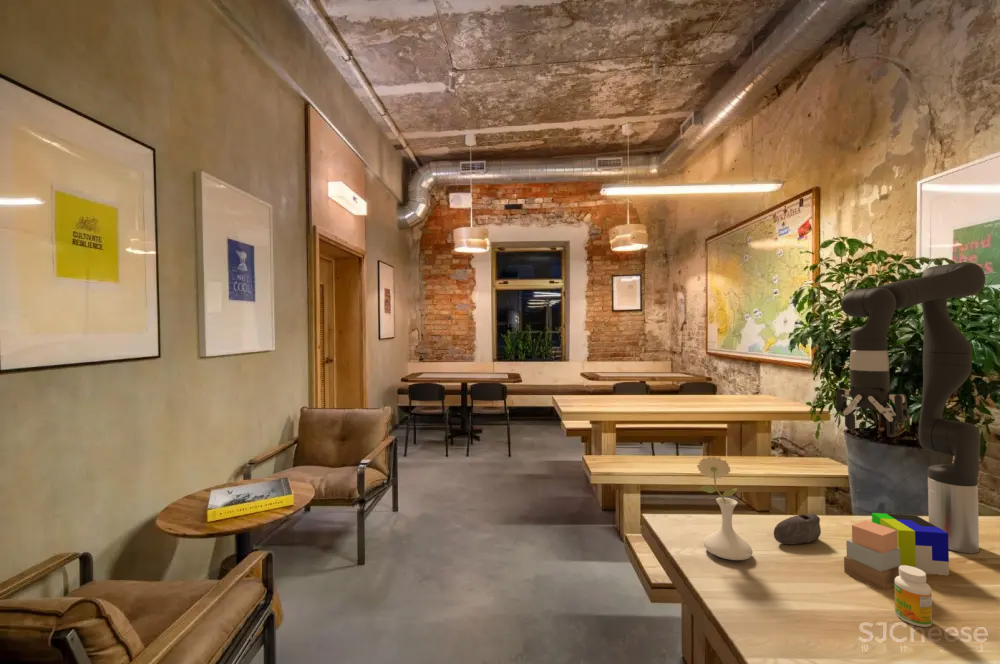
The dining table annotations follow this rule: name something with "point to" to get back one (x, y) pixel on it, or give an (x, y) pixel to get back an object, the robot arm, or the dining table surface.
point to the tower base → (871, 574)
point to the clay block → (874, 536)
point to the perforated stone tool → (798, 529)
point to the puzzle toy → (918, 542)
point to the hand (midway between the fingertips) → (870, 432)
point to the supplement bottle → (913, 596)
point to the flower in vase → (723, 515)
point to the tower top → (873, 556)
